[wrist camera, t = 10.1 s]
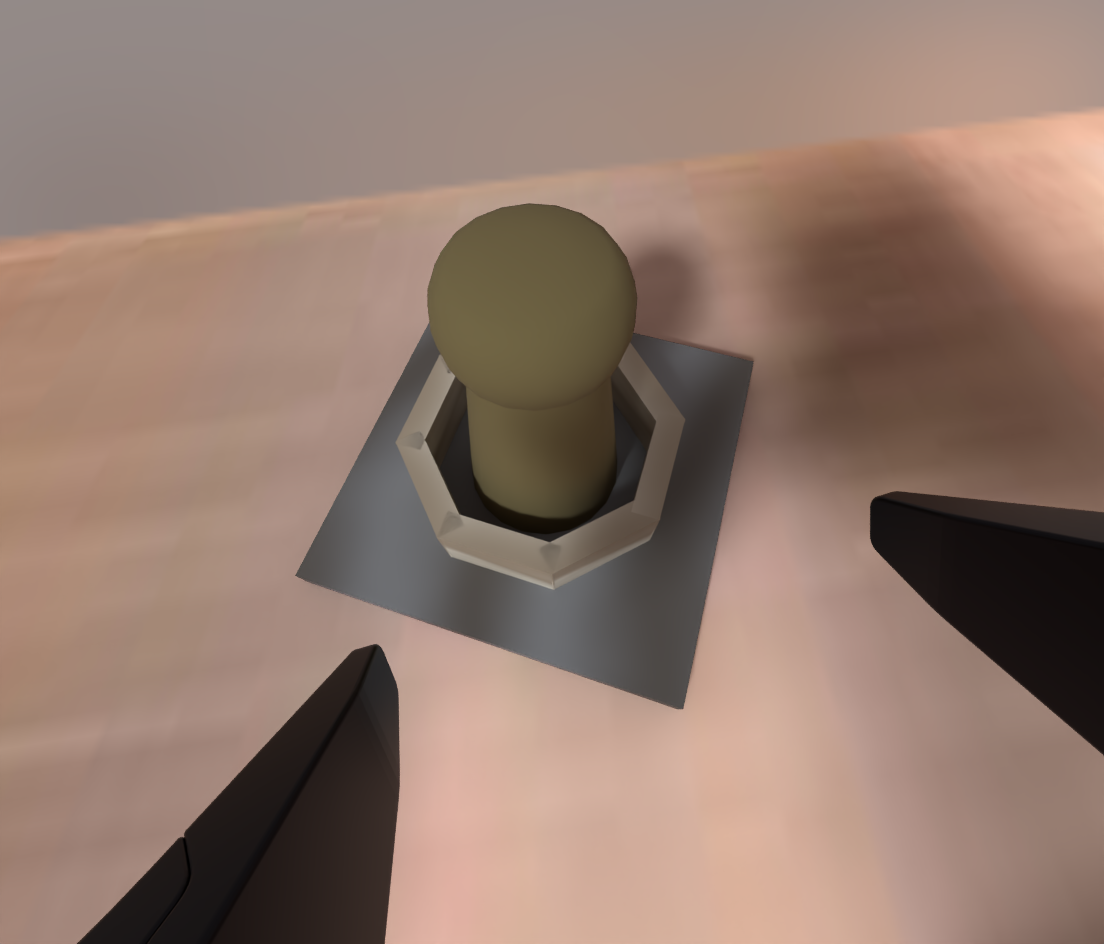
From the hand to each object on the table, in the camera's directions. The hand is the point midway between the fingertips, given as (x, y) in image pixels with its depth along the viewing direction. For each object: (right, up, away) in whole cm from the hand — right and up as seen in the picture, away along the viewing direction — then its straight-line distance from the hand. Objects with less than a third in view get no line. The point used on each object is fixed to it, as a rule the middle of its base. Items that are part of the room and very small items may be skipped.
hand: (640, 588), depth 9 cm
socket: (-2, +2, +14) cm, 14 cm away
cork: (-2, +2, +13) cm, 13 cm away
